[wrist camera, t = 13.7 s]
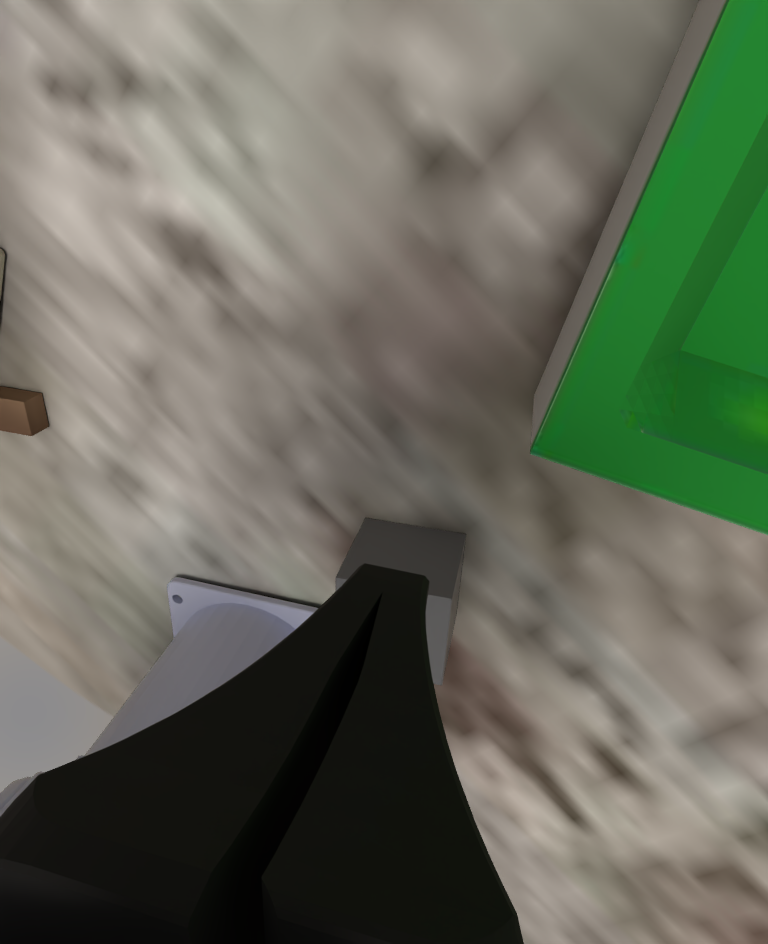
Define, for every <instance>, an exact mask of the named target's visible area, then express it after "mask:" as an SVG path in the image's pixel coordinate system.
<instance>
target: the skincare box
mask: <svg viewBox="0 0 768 944" xmlns="http://www.w3.org/2000/svg"><path fill="white" fill-rule="evenodd" d="M4 261H5V253H4V251H3V250H2V249H0V299H1V291H2V281H3V271H4Z"/></svg>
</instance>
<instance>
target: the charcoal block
mask: <svg viewBox="0 0 768 944" xmlns="http://www.w3.org/2000/svg"><path fill="white" fill-rule="evenodd" d="M465 540H466V534H462V533H456V532H450V531H444V530H438V529H432V528H426V527H419V526H413V525H407V524H401V523H395V522H389V521H383V520H376V519H370V518H365V520H364V522H363V524H362V526H361V528H360V530H359V532H358V534H357V536H356V538H355V540H354V542H353V544H352V546H351V548H350V550H349V552H348V554H347V556H346V558H345V560H344V562H343V564H342V566H341V568H340V570H339V572H338V574H337V576H336V591H337V590H338V589H339V588H340V587H341V586H342V585H343V584H344V583H345V582H346V580H347V579H348V578H349V577H350V576H351V575H352V574H353V573H354V572H355V571H356V569H357V568H358V567H359V566H361V565H363V564H364V563H366V564H371V565H376V566H381V567H386V568H391V569H396V570H401V571H405V572H410V573H415V574H420V575H425V576H426V578H427V579H428V580H429V581H430V582H429V590H428V598H427V605H426V634H427V643H428V652H429V661H430V667H431V673H432V679H433V684H437V685H442V683H443V678H444V673H445V668H446V663H447V658H448V653H449V649H450V644H451V639H452V634H453V629H454V624H455V619H456V614H457V606H458V597H459V589H460V581H461V573H462V565H463V556H464V548H465Z"/></svg>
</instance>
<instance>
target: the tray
mask: <svg viewBox="0 0 768 944" xmlns="http://www.w3.org/2000/svg"><path fill="white" fill-rule="evenodd" d="M530 454H532V455H535V456H538V457H541V458H543V459H546V460H549V461H552V462H555V463H558V464H561V465H564V466H567V467H570V468H573V469H576V470H579V471H582V472H584V473H587V474H590V475H593V476H596V477H599V478H602V479H605V480H608V481H611V482H614V483H617V484H620V485H622V486H625V487H628V488H631V489H634V490H637V491H640V492H643V493H646V494H649V495H652V496H655V497H658V498H661V499H663V500H666V501H669V502H672V503H675V504H678V505H681V506H684V507H687V508H690V509H693V510H696V511H699V512H702V513H704V514H707V515H710V516H713V517H716V518H719V519H722V520H725V521H728V522H731V523H734V524H737V525H740V526H743V527H745V528H748V529H751V530H754V531H757V532H760V533H763V534H766V535H768V0H699V2H698V5H697V7H696V10H695V12H694V14H693V17H692V19H691V22H690V24H689V26H688V29H687V31H686V34H685V36H684V38H683V41H682V43H681V46H680V48H679V50H678V53H677V55H676V57H675V60H674V62H673V65H672V67H671V69H670V72H669V74H668V77H667V79H666V81H665V84H664V86H663V89H662V91H661V93H660V96H659V98H658V100H657V103H656V105H655V108H654V110H653V112H652V115H651V117H650V120H649V122H648V124H647V127H646V129H645V132H644V134H643V136H642V139H641V141H640V144H639V146H638V148H637V151H636V153H635V155H634V158H633V160H632V163H631V165H630V167H629V170H628V172H627V175H626V177H625V179H624V182H623V184H622V187H621V189H620V191H619V194H618V196H617V199H616V201H615V203H614V206H613V208H612V210H611V213H610V215H609V218H608V220H607V222H606V225H605V227H604V230H603V232H602V234H601V237H600V239H599V242H598V244H597V246H596V249H595V251H594V253H593V256H592V258H591V261H590V263H589V265H588V268H587V270H586V273H585V275H584V277H583V280H582V282H581V285H580V287H579V289H578V292H577V294H576V297H575V299H574V301H573V304H572V306H571V308H570V311H569V313H568V316H567V318H566V320H565V323H564V325H563V328H562V330H561V332H560V335H559V337H558V340H557V342H556V344H555V347H554V349H553V351H552V354H551V356H550V359H549V361H548V363H547V366H546V368H545V371H544V373H543V375H542V378H541V380H540V383H539V385H538V387H537V390H536V392H535V395H534V404H533V419H532V434H531V449H530Z"/></svg>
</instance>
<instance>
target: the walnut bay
mask: <svg viewBox="0 0 768 944" xmlns="http://www.w3.org/2000/svg"><path fill="white" fill-rule="evenodd" d="M47 427H49V424H48V419H47V415H46V410H45V406H44V401H43V397H42V393H37V392H31V391H25V390H20V389H14V388H8V387H2V386H0V430H1V431H7V432H12V433H17V434H23V435H28V436H33V435H35V434H37V433H38V432H40V431H42V430H44V429H45V428H47Z"/></svg>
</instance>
